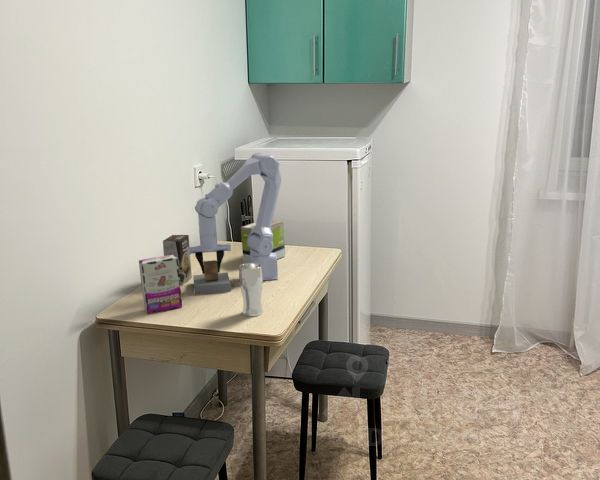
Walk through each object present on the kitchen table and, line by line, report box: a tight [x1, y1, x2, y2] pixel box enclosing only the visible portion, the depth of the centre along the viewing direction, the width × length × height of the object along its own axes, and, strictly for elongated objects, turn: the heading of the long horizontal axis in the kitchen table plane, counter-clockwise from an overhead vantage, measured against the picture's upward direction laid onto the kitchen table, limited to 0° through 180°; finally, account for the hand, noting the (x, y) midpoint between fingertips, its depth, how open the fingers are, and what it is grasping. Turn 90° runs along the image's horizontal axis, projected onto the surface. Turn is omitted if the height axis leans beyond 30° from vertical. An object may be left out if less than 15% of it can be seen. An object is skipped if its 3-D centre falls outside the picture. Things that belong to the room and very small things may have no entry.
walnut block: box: [203, 259, 218, 281], centre depth 200 cm, size 4×4×6 cm
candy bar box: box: [138, 255, 183, 315], centre depth 182 cm, size 11×5×16 cm, turn 117°
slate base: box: [192, 272, 231, 296], centre depth 202 cm, size 12×12×3 cm
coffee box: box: [162, 234, 193, 286], centre depth 208 cm, size 9×6×16 cm
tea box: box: [240, 219, 286, 264], centre depth 231 cm, size 15×10×15 cm, turn 144°
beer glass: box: [238, 263, 264, 318], centre depth 177 cm, size 7×7×15 cm
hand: (210, 272), depth 201 cm, fingers closed on walnut block, 4 cm apart
